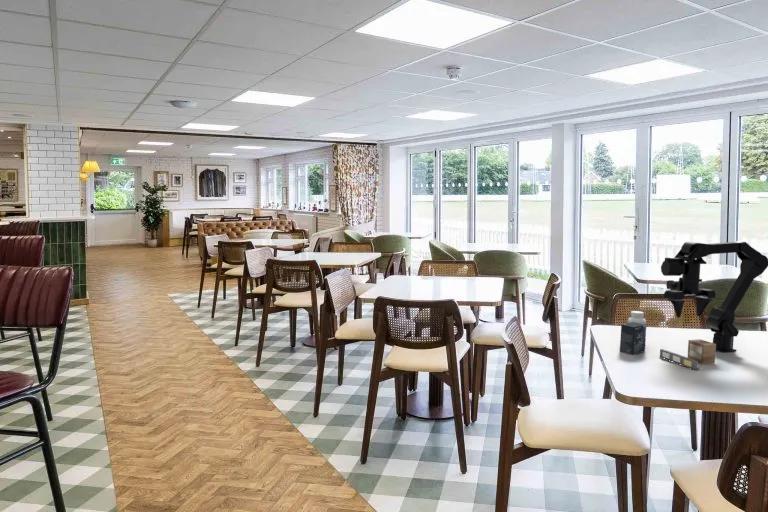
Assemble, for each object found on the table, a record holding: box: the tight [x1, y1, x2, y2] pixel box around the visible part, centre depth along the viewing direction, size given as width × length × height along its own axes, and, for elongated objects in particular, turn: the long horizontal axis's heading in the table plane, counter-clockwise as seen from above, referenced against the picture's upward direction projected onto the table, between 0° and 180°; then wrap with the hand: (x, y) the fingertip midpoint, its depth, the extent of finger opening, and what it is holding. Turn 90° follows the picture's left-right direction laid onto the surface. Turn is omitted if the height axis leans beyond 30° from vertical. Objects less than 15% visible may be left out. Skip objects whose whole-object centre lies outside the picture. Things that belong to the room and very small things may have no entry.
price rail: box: [659, 348, 701, 371], centre depth 199 cm, size 16×3×3 cm, turn 15°
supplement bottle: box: [627, 310, 647, 342], centre depth 224 cm, size 7×7×13 cm
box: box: [619, 322, 647, 355], centre depth 213 cm, size 8×6×11 cm
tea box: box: [687, 338, 717, 365], centre depth 201 cm, size 7×5×7 cm
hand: (688, 316), depth 214 cm, fingers open, 9 cm apart
